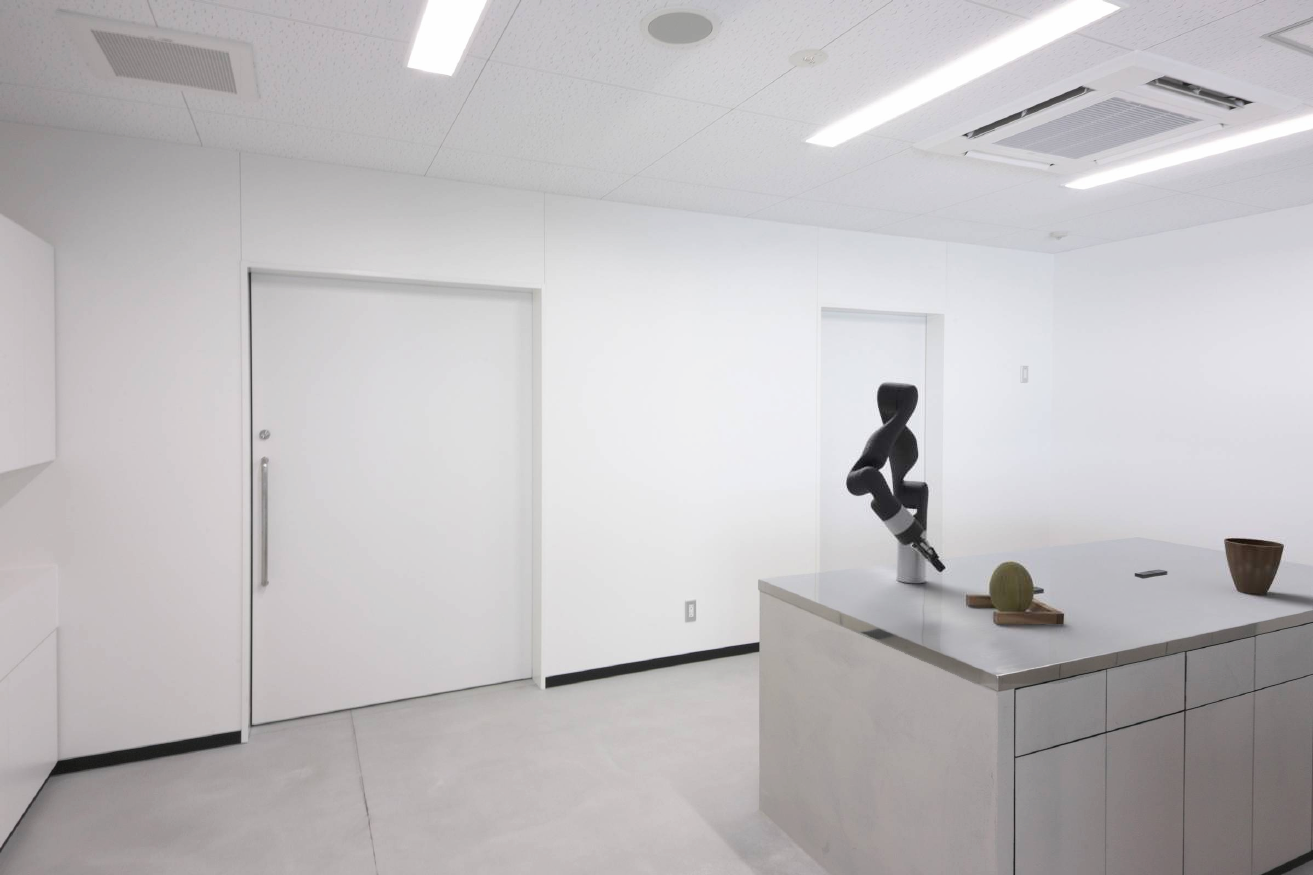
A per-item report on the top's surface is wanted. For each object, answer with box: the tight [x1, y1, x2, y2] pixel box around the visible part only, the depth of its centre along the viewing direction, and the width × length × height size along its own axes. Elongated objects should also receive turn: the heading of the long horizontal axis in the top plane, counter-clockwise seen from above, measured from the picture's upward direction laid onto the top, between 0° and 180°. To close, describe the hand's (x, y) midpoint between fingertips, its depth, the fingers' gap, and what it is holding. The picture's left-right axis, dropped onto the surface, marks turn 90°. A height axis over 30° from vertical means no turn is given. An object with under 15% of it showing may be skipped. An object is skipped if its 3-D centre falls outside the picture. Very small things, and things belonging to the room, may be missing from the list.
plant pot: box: [1223, 537, 1285, 596], centre depth 240 cm, size 15×15×16 cm
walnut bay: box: [965, 594, 1065, 626], centre depth 214 cm, size 20×18×3 cm
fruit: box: [988, 560, 1035, 612], centre depth 213 cm, size 11×11×15 cm
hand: (942, 569), depth 214 cm, fingers closed
